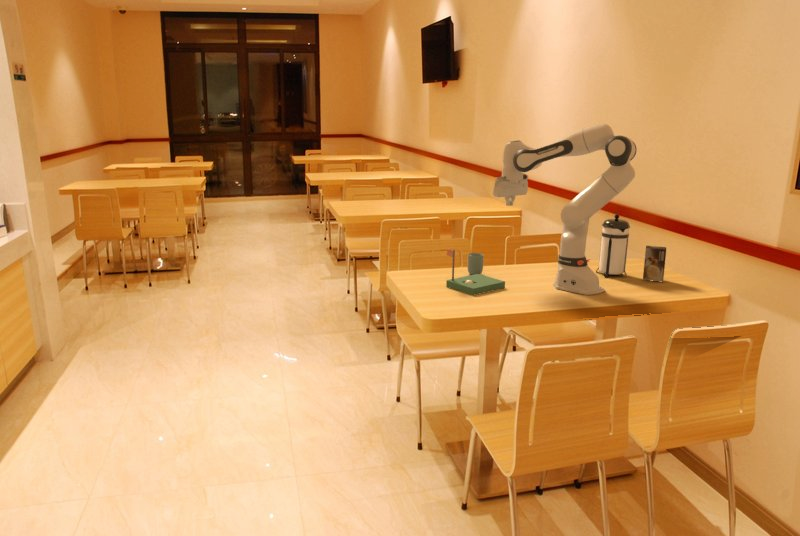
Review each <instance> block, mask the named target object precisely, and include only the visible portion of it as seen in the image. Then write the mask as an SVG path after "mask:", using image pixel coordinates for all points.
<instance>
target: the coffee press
mask: <svg viewBox="0 0 800 536" xmlns="http://www.w3.org/2000/svg"><path fill="white" fill-rule="evenodd" d="M601 226H602V230H601V238H600V240H601V241H600V251H599V261H598V262H599V263H598V268H597V269H596V270H595V272H596V273H597V272H598V270H599V272H601V273H602V274H604V278H606V277H607V278H610V277H609V276H610V275H621V276H622V277H623V278H625V277H627V276H628V274H627V272H626V266H627V264H626V263H627V255H628V246H629V245H628V244H629V237H630V233H629V232H630V229H631V225H630V223H629V221H627V220H624V219H621V218H620V215H619V214H615V215H614V218H608V219H605V220H604V221H603V223H602V224H601ZM623 273H624V274H623ZM624 276H625V277H624ZM607 278H606V279H607Z"/></svg>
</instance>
